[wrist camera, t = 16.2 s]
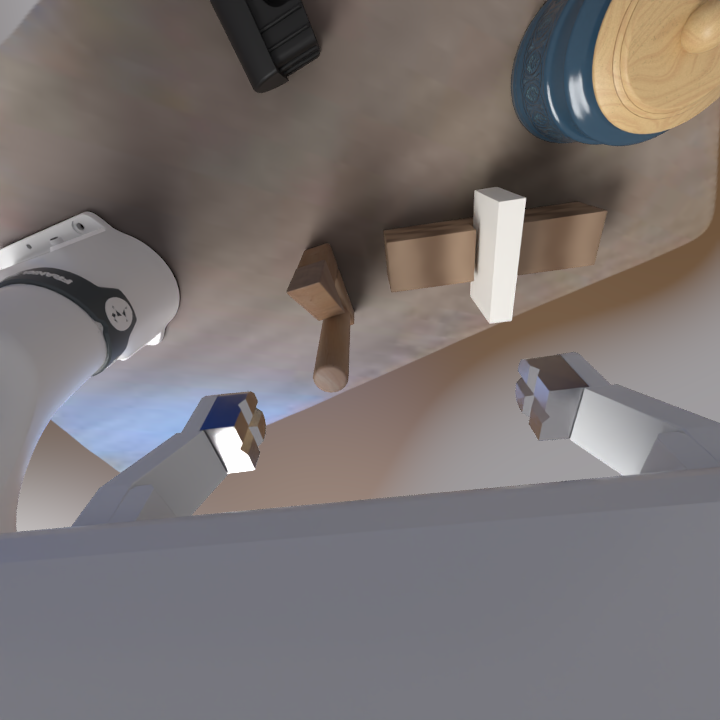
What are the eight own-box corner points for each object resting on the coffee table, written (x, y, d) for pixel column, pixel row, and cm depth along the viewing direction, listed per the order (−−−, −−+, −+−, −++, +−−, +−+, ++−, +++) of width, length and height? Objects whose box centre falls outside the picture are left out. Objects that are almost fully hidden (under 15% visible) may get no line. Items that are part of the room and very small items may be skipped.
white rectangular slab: (474, 190, 39) (499, 201, 32) (496, 186, 39) (526, 197, 32) (470, 295, 46) (489, 323, 39) (489, 293, 46) (511, 320, 39)
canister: (501, 151, 39) (589, 162, 24) (514, -10, 32) (650, -134, 17) (620, 132, 38) (786, 132, 23) (661, -39, 31) (938, -195, 16)
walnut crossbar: (387, 275, 47) (391, 292, 42) (383, 230, 43) (386, 243, 38) (567, 250, 45) (594, 264, 40) (577, 201, 42) (607, 210, 37)
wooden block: (329, 241, 44) (315, 297, 29) (355, 313, 50) (354, 390, 35) (303, 250, 45) (276, 308, 30) (331, 319, 51) (321, 398, 36)
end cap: (204, -29, 31) (170, -66, 25) (270, -79, 29) (250, -129, 24) (265, 97, 36) (248, 90, 30) (324, 60, 34) (318, 46, 29)
